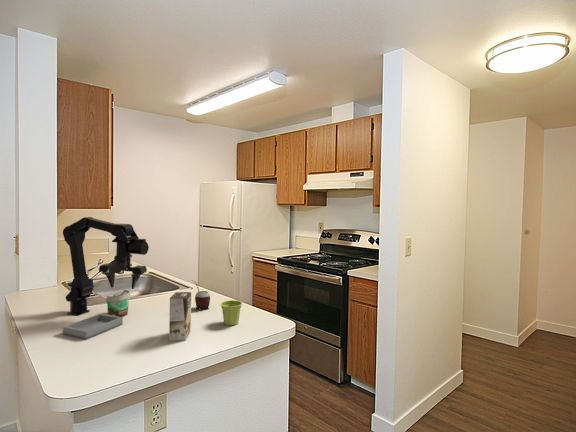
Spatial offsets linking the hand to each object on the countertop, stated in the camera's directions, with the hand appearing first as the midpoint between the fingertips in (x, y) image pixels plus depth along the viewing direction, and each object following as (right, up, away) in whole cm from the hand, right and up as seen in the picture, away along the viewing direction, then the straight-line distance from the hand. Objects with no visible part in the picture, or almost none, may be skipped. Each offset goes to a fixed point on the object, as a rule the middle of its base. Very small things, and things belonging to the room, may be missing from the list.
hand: (122, 288), depth 153 cm
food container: (-2, -13, +3) cm, 13 cm away
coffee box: (+31, -15, -18) cm, 39 cm away
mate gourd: (+31, -13, +14) cm, 37 cm away
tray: (-5, -14, -14) cm, 20 cm away
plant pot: (+48, -15, -3) cm, 50 cm away
